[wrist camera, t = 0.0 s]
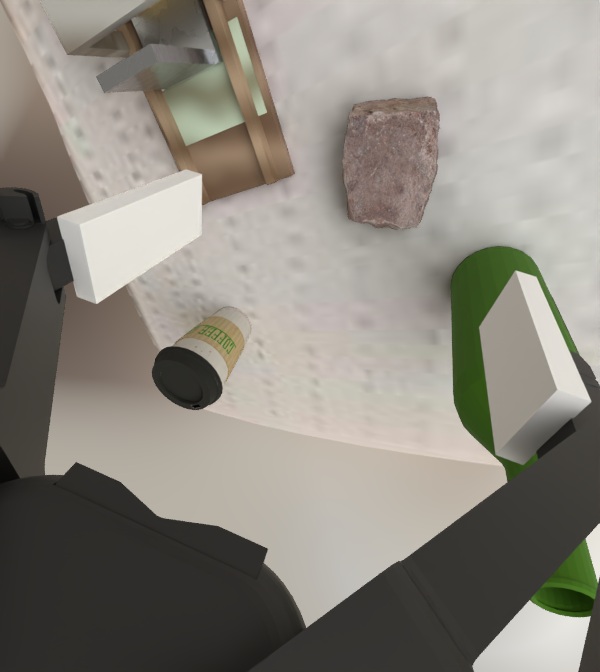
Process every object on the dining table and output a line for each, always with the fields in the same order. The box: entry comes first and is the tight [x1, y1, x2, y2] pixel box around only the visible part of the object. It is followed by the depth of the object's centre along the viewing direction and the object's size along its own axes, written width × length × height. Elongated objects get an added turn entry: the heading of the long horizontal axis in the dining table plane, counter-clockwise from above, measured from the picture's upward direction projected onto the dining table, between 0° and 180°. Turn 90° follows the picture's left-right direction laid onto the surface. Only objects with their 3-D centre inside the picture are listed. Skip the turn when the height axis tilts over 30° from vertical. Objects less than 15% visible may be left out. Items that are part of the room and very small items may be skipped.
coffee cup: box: [152, 307, 252, 410], centre depth 52 cm, size 10×10×15 cm
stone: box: [342, 97, 440, 230], centre depth 36 cm, size 9×12×5 cm
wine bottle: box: [451, 246, 598, 617], centre depth 29 cm, size 9×9×32 cm
